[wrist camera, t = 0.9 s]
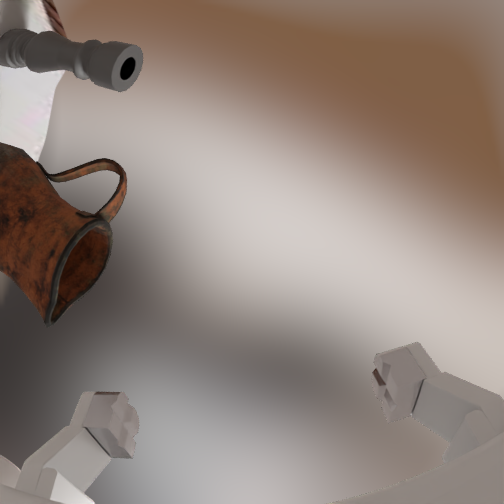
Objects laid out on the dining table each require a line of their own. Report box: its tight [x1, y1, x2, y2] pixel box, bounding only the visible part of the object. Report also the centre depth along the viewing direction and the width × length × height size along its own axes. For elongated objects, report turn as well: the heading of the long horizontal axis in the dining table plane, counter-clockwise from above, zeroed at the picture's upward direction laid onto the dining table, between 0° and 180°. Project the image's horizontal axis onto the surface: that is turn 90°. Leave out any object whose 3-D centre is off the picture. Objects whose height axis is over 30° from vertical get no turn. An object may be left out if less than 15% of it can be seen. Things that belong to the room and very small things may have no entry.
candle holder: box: [0, 29, 143, 92], centre depth 29 cm, size 6×6×25 cm
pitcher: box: [0, 142, 127, 327], centre depth 33 cm, size 17×21×30 cm
